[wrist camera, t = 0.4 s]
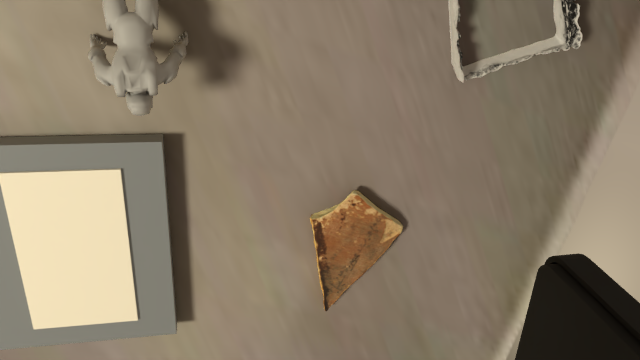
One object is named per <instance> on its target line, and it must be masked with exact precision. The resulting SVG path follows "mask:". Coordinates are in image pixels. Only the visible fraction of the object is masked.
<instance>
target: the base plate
mask: <svg viewBox="0 0 640 360" xmlns="http://www.w3.org/2000/svg"><path fill="white" fill-rule="evenodd" d="M176 332H177V317H176V303H175V289H174V276H173V262H172V249H171V235H170V222H169V208H168V195H167V181H166V168H165V154H164V141H163V134H128V135H77V136H25V137H0V350H5V349H16V348H26V347H37V346H48V345H59V344H70V343H81V342H91V341H102V340H113V339H124V338H135V337H146V336H157V335H167V334H176Z"/></svg>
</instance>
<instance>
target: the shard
mask: <svg viewBox="0 0 640 360" xmlns="http://www.w3.org/2000/svg"><path fill="white" fill-rule="evenodd" d="M310 221H311V224H312V229H313V234H314V243H315V248H316V253H317V255H316V256H317V263H318V264H317V267H318V273H319V279H320V285H321V289H322V291H323V296H324V300H323V304H324V309H325V311H327V310H328V309H329V307H330V306H331V305H332V304H333V303H334V302H335V301H336V300H337V299H338V298H339V297H340V296H341V295H342V293H343V292H344V291H345V290H346V289H347V288H348V287H349V286H350V285H351V284H353V283H354V282H355V281H356V280H358V279H359V278H360V277H361V276H362V275H363V274H364V273H365V272H366V270H367V269H368V268H370V267H371V266H372V265H373V264H374V263H375V262H376V261H377V259H378V258H379V257H380V256H381V255H383V254H384V252H385V251H386V250H387V249H388V248H389V247H390V245H391V243H392V242H393V241H394V240H395V239H396V238H397V237H398V236H399V235H400V233H401V231H402V228H403V225H402V224H401V223H400V221H398V220H397V219H395V218H393V217H392V216H390V215H389V214H387V213H386V212H384V211H383V210H381V209H379V208H378V207H376V206H375V205H374V204H373V203H372V202H371V201H370V200H369V199H368V198H366V197H365V196H363V195H362V194H361V193H360V191H357V190H353V191H352V192H351V194H350V195H348V196H347V198H346V199H345V200H344V201H342V202H341V203H340V204H338V205H336V206H334V207H332V208H329V209H326V210H323V211H320V212H318V213H315V214H312V215H311V217H310Z"/></svg>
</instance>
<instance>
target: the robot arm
mask: <svg viewBox="0 0 640 360" xmlns="http://www.w3.org/2000/svg"><path fill="white" fill-rule="evenodd" d="M515 360H640V303H639V302H638V301H637V300H635V299H634V298H633V297H632V296H631V295H630V294H629V293H627V292H626V291H625V290H624V289H623V288H622V287H620V286H619V285H618V284H617V283H616V282H615V281H614V280H613V279H612V278H610V277H609V276H608V275H607V274H606V273H605V272H604V271H603V270H602V269H600V268H599V267H598V266H597V265H596V264H595V263H594V262H592V261H591V260H590V259H589V258H588V257H586V256H585V255H583V254H570V255H559V256H552V257H549V258H548V259H547V260H546V262H545V264H544V265H542V266H541V267H540V268H539V269H538V272H537V276H536V280H535V283H534V287H533V291H532V295H531V299H530V303H529V307H528V311H527V315H526V319H525V323H524V326H523V330H522V334H521V338H520V342H519V346H518V350H517V354H516V358H515Z"/></svg>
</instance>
